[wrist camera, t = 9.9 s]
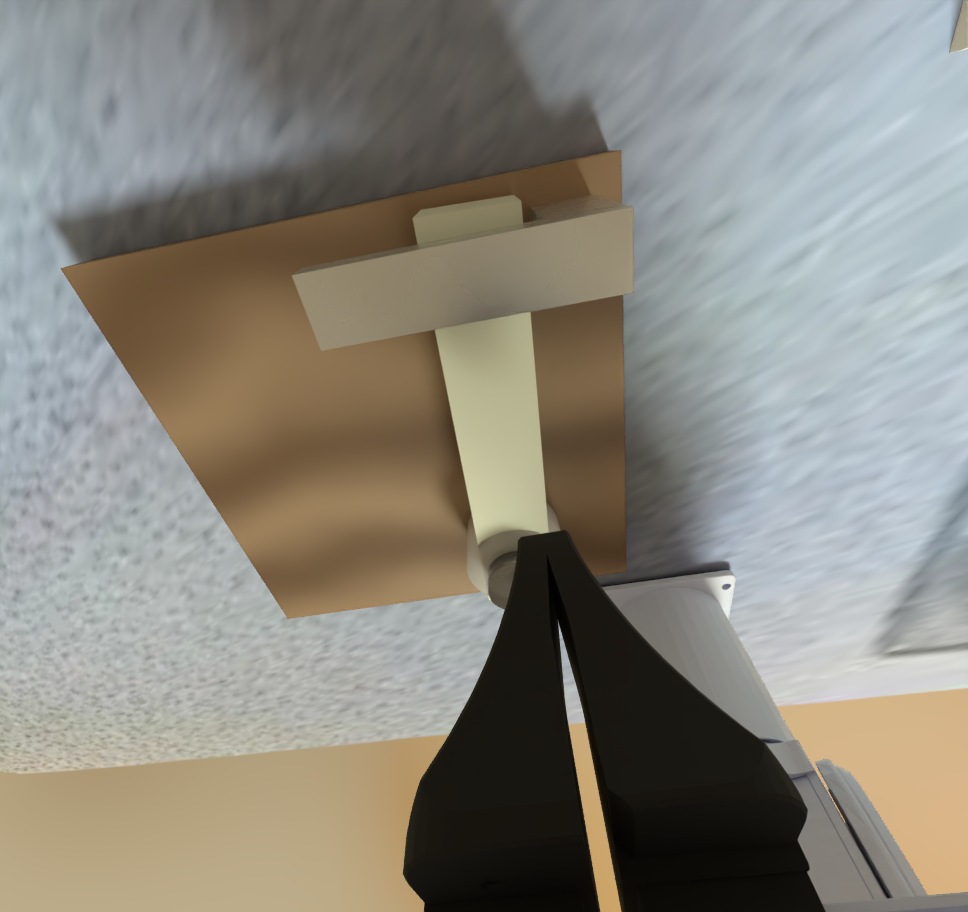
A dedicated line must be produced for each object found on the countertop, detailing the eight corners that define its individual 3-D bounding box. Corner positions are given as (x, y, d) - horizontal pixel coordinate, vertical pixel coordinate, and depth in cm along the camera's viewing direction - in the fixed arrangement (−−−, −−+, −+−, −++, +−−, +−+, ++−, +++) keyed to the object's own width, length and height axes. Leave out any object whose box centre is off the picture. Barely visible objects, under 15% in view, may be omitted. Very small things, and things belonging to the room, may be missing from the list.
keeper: (593, 259, 16) (633, 292, 12) (357, 304, 16) (321, 350, 13) (590, 193, 15) (633, 206, 11) (337, 245, 15) (291, 275, 11)
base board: (618, 551, 26) (626, 571, 24) (296, 597, 27) (288, 618, 26) (609, 150, 15) (620, 150, 14) (91, 260, 17) (60, 268, 16)
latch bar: (560, 555, 23) (569, 595, 21) (474, 565, 23) (475, 605, 21) (535, 191, 14) (547, 196, 12) (399, 213, 15) (387, 222, 13)
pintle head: (550, 588, 20) (553, 606, 20) (493, 596, 21) (493, 615, 20) (544, 546, 19) (547, 564, 18) (482, 555, 19) (483, 573, 18)
